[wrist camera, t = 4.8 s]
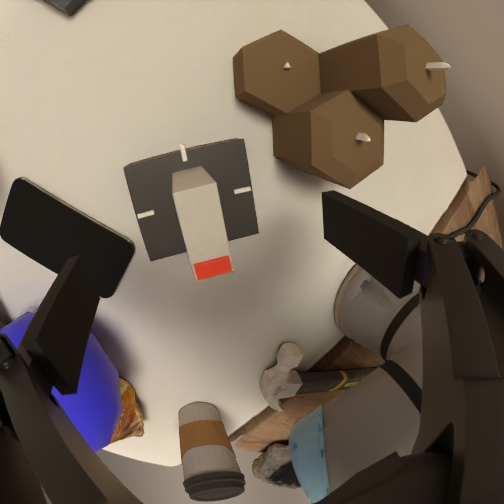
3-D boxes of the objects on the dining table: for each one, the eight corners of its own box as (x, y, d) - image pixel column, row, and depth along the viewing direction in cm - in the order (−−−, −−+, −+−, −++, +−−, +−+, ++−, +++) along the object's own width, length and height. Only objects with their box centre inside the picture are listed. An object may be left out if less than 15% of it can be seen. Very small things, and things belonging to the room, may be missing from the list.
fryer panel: (235, 132, 24) (243, 131, 21) (251, 228, 28) (260, 240, 25) (127, 157, 22) (121, 160, 19) (153, 253, 26) (152, 268, 24)
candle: (325, 18, 20) (429, -27, 7) (381, 122, 27) (493, 139, 14) (214, 67, 21) (269, -4, 8) (290, 183, 27) (393, 237, 14)
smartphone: (109, 302, 26) (-3, 237, 19) (110, 298, 27) (0, 234, 20) (138, 245, 25) (15, 173, 18) (138, 242, 25) (18, 172, 19)
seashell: (18, 390, 23) (97, 397, 23) (39, 358, 30) (115, 355, 30) (79, 459, 29) (157, 467, 29) (90, 427, 36) (163, 430, 36)
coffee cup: (167, 400, 35) (180, 490, 22) (222, 394, 38) (249, 481, 24) (176, 427, 39) (190, 504, 26) (224, 421, 41) (247, 496, 28)
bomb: (28, 279, 26) (16, 395, 24) (-45, 297, 11) (-28, 452, 9) (142, 327, 30) (116, 437, 29) (131, 387, 16) (108, 516, 14)
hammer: (408, 340, 47) (278, 340, 36) (418, 350, 44) (287, 357, 33) (374, 387, 51) (246, 400, 40) (382, 397, 48) (252, 417, 37)
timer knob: (172, 172, 21) (172, 194, 14) (201, 165, 21) (217, 183, 14) (187, 235, 23) (196, 284, 16) (214, 228, 24) (235, 273, 17)
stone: (380, 441, 49) (359, 434, 58) (269, 437, 47) (259, 426, 56) (364, 492, 43) (345, 480, 52) (253, 494, 41) (245, 477, 50)
